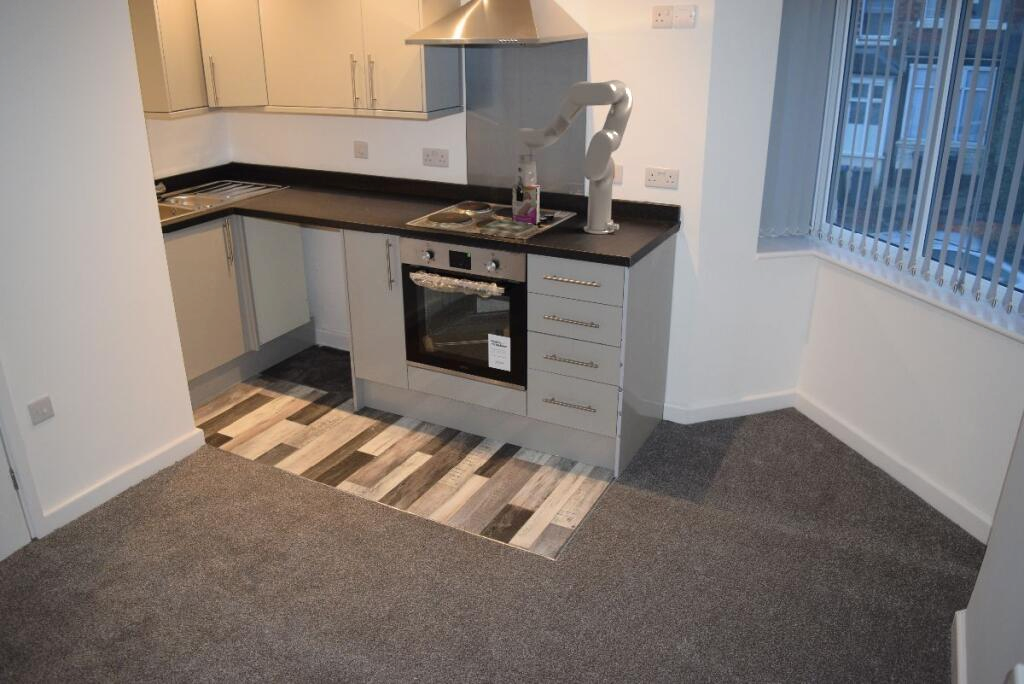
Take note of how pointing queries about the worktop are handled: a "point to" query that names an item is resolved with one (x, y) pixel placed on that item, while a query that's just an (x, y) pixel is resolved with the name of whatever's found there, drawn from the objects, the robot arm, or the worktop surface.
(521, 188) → the robot arm
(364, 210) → the worktop surface
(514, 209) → the candy bar box
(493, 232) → the foundation plinth
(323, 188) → the worktop surface
